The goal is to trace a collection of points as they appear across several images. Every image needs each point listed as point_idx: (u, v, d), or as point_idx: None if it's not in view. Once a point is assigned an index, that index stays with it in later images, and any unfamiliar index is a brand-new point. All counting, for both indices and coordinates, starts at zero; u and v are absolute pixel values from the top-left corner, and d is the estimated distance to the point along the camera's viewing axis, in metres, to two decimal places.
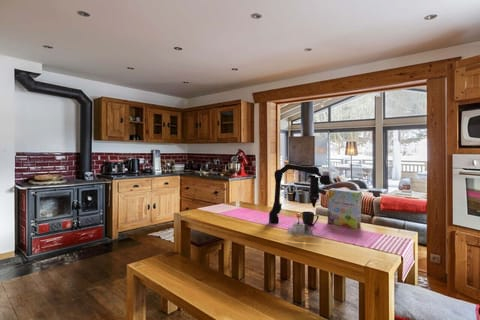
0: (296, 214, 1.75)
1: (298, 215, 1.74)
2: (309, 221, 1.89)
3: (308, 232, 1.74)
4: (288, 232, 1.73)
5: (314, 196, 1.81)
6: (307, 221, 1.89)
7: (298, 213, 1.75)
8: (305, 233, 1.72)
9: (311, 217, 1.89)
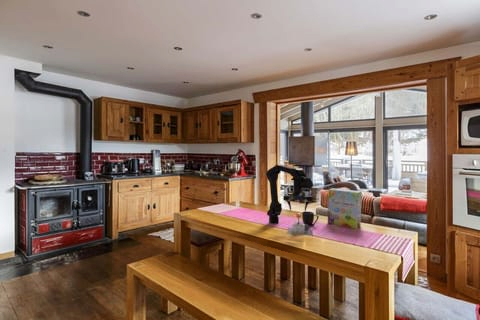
0: (296, 214, 1.75)
1: (298, 215, 1.74)
2: (309, 221, 1.89)
3: (308, 232, 1.74)
4: (288, 232, 1.73)
5: None
6: (307, 221, 1.89)
7: (298, 213, 1.75)
8: (305, 233, 1.72)
9: (311, 217, 1.89)
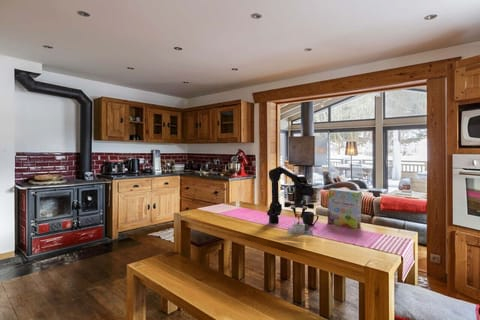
0: (296, 214, 1.75)
1: (298, 215, 1.74)
2: (309, 221, 1.89)
3: (308, 232, 1.74)
4: (288, 232, 1.73)
5: (284, 204, 1.77)
6: (307, 221, 1.89)
7: (298, 213, 1.75)
8: (305, 233, 1.72)
9: (311, 217, 1.89)
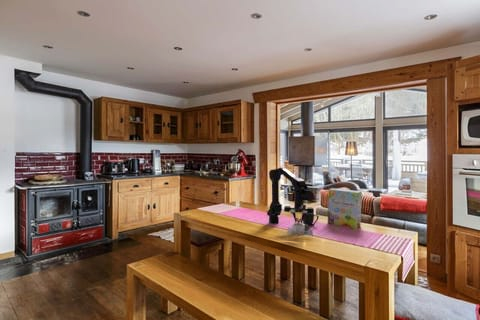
0: (296, 219, 1.75)
1: (298, 220, 1.74)
2: (309, 221, 1.89)
3: (308, 232, 1.74)
4: (288, 232, 1.73)
5: None
6: (307, 221, 1.89)
7: (298, 218, 1.75)
8: (305, 233, 1.72)
9: (311, 217, 1.89)
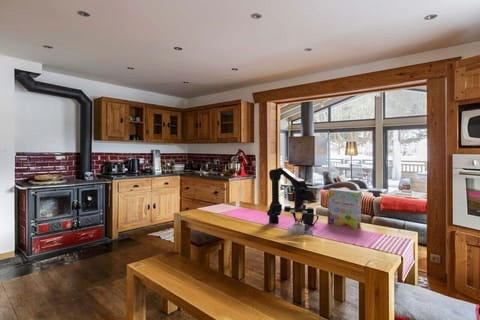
0: (296, 219, 1.75)
1: (298, 220, 1.74)
2: (309, 221, 1.89)
3: (308, 232, 1.74)
4: (288, 232, 1.73)
5: None
6: (307, 221, 1.89)
7: (298, 218, 1.75)
8: (305, 233, 1.72)
9: (311, 217, 1.89)
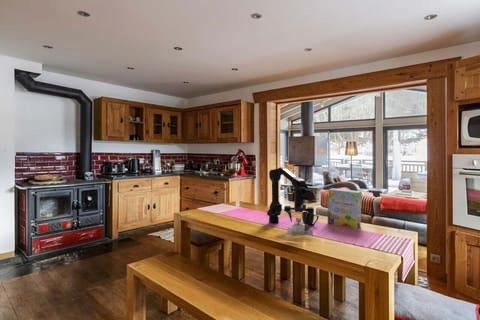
0: (296, 219, 1.75)
1: (298, 220, 1.74)
2: (309, 221, 1.89)
3: (308, 232, 1.74)
4: (288, 232, 1.73)
5: (284, 208, 1.77)
6: (307, 221, 1.89)
7: (298, 218, 1.75)
8: (305, 233, 1.72)
9: (311, 217, 1.89)
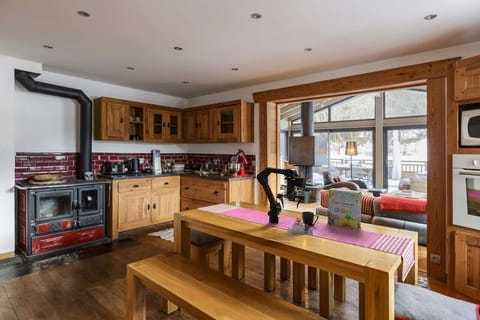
0: (296, 219, 1.75)
1: (298, 220, 1.74)
2: (309, 221, 1.89)
3: (308, 232, 1.74)
4: (288, 232, 1.73)
5: None
6: (307, 221, 1.89)
7: (298, 218, 1.75)
8: (305, 233, 1.72)
9: (311, 217, 1.89)
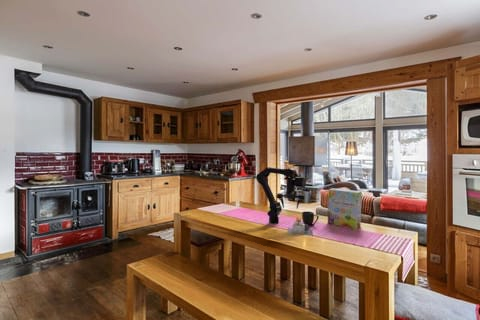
0: (296, 219, 1.75)
1: (298, 220, 1.74)
2: (309, 221, 1.89)
3: (308, 232, 1.74)
4: (288, 232, 1.73)
5: None
6: (307, 221, 1.89)
7: (298, 218, 1.75)
8: (305, 233, 1.72)
9: (311, 217, 1.89)
